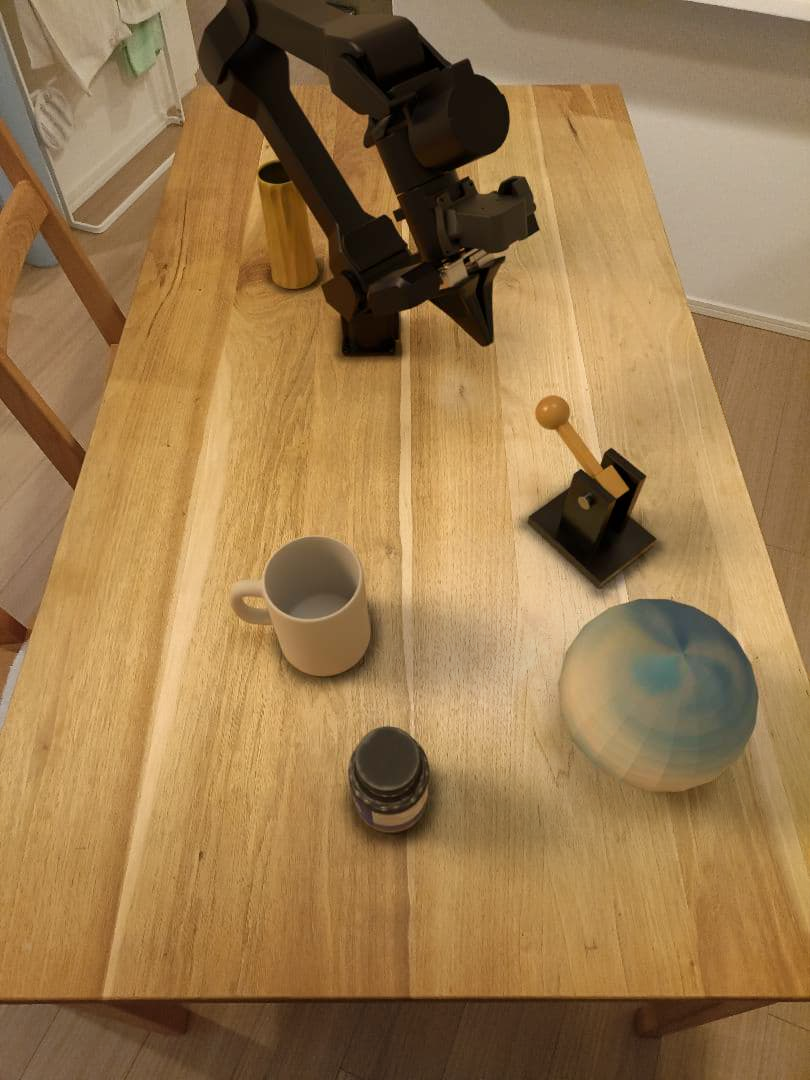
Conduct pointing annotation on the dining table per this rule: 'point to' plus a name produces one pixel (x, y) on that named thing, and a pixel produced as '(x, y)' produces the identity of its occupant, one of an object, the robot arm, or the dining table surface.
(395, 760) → the pill bottle
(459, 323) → the robot arm
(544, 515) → the lever base
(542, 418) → the ball knob lever
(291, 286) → the vase
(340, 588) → the mug
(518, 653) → the dining table surface
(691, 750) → the decorative ball
